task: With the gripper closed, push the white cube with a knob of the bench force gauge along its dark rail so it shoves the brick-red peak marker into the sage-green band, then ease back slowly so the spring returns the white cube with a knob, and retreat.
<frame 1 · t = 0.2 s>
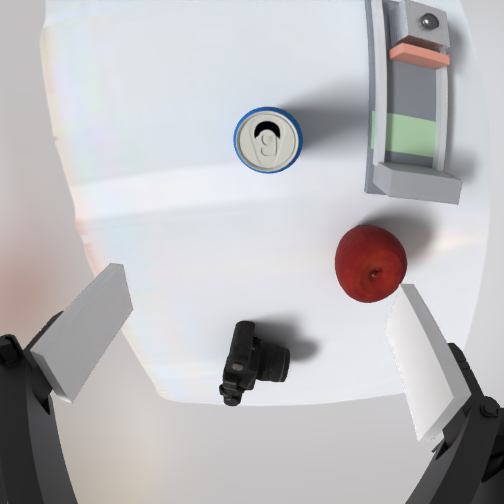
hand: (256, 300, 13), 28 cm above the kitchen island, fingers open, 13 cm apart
apple: (360, 244, 41), on the kitchen island
camera: (257, 350, 52), on the kitchen island
white cube with knob: (419, 27, 22), point 5 cm above the kitchen island, slide at 0.0 cm
marker: (418, 56, 25), point 4 cm above the kitchen island, slide at 0.0 cm
beverage can: (272, 134, 36), on the kitchen island
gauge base: (407, 95, 31), on the kitchen island
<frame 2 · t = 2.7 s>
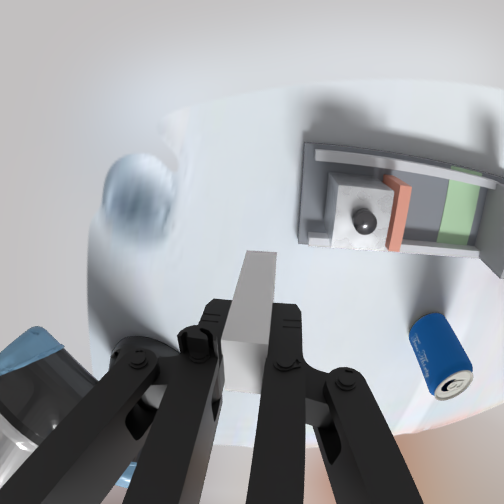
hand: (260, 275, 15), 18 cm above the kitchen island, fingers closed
white cube with knob: (356, 210, 26), point 5 cm above the kitchen island, slide at 0.0 cm
marker: (392, 211, 27), point 4 cm above the kitchen island, slide at 0.0 cm
beverage can: (426, 326, 37), on the kitchen island
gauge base: (418, 204, 30), on the kitchen island
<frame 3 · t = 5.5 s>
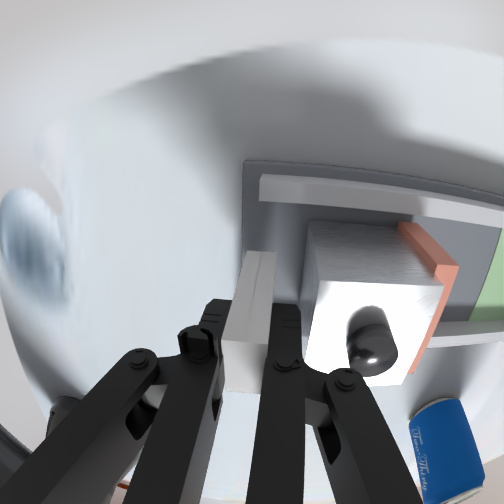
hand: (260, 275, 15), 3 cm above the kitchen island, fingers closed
white cube with knob: (358, 306, 13), point 5 cm above the kitchen island, slide at 1.0 cm, touching gripper, marker
marker: (409, 296, 14), point 4 cm above the kitchen island, slide at 0.1 cm, touching white cube with knob
beverage can: (433, 409, 24), on the kitchen island
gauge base: (449, 264, 17), on the kitchen island
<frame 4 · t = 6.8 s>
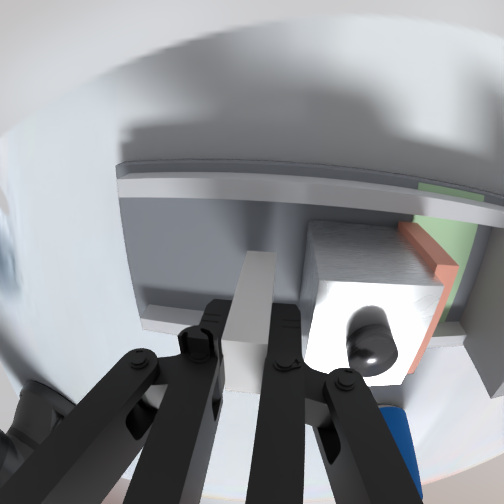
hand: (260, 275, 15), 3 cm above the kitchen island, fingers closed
white cube with knob: (358, 306, 13), point 5 cm above the kitchen island, slide at 8.5 cm, touching gripper, marker
marker: (409, 297, 14), point 4 cm above the kitchen island, slide at 7.6 cm, touching white cube with knob
beverage can: (374, 416, 25), on the kitchen island
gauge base: (350, 258, 18), on the kitchen island
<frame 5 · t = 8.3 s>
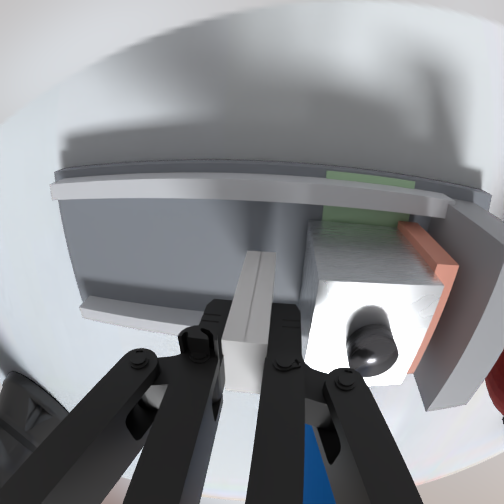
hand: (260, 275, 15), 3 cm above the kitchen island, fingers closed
white cube with knob: (358, 306, 13), point 5 cm above the kitchen island, slide at 13.7 cm, touching gripper, marker
marker: (409, 296, 14), point 4 cm above the kitchen island, slide at 12.8 cm, touching white cube with knob
beverage can: (326, 417, 25), on the kitchen island
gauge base: (265, 252, 18), on the kitchen island
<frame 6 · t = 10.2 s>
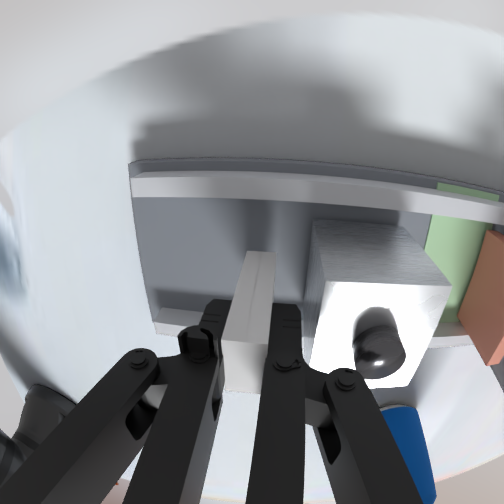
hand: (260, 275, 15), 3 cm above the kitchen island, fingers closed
white cube with knob: (364, 307, 13), point 5 cm above the kitchen island, slide at 7.6 cm, touching gripper
marker: (496, 297, 13), point 4 cm above the kitchen island, slide at 12.9 cm
beverage can: (386, 416, 24), on the kitchen island
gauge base: (368, 258, 17), on the kitchen island
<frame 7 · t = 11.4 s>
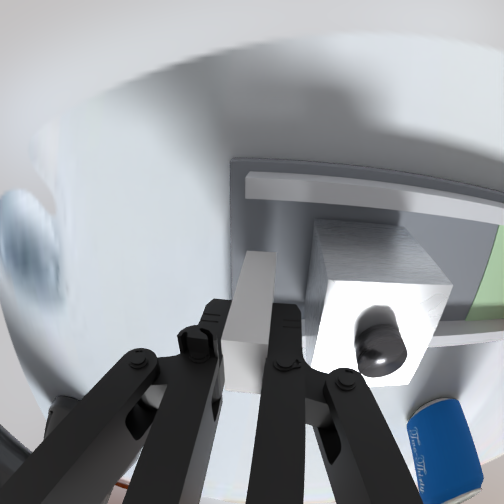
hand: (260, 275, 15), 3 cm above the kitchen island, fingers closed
white cube with knob: (366, 306, 13), point 5 cm above the kitchen island, slide at 1.9 cm
beverage can: (431, 409, 24), on the kitchen island
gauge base: (444, 262, 17), on the kitchen island
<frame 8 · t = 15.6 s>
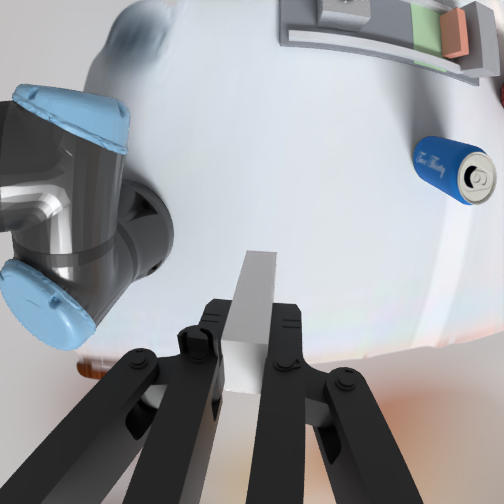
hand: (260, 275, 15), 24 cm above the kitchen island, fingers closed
white cube with knob: (342, 0, 22), point 5 cm above the kitchen island, slide at 1.9 cm
marker: (453, 33, 21), point 4 cm above the kitchen island, slide at 12.9 cm
beverage can: (430, 158, 33), on the kitchen island
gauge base: (388, 24, 26), on the kitchen island
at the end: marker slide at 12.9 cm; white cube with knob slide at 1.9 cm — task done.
